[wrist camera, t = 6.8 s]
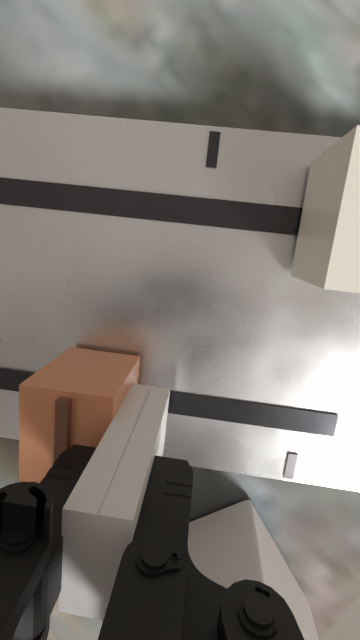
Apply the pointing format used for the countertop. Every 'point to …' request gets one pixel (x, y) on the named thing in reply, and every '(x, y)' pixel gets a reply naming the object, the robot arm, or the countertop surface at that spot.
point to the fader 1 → (70, 405)
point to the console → (181, 285)
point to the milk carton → (246, 557)
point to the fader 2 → (332, 219)
